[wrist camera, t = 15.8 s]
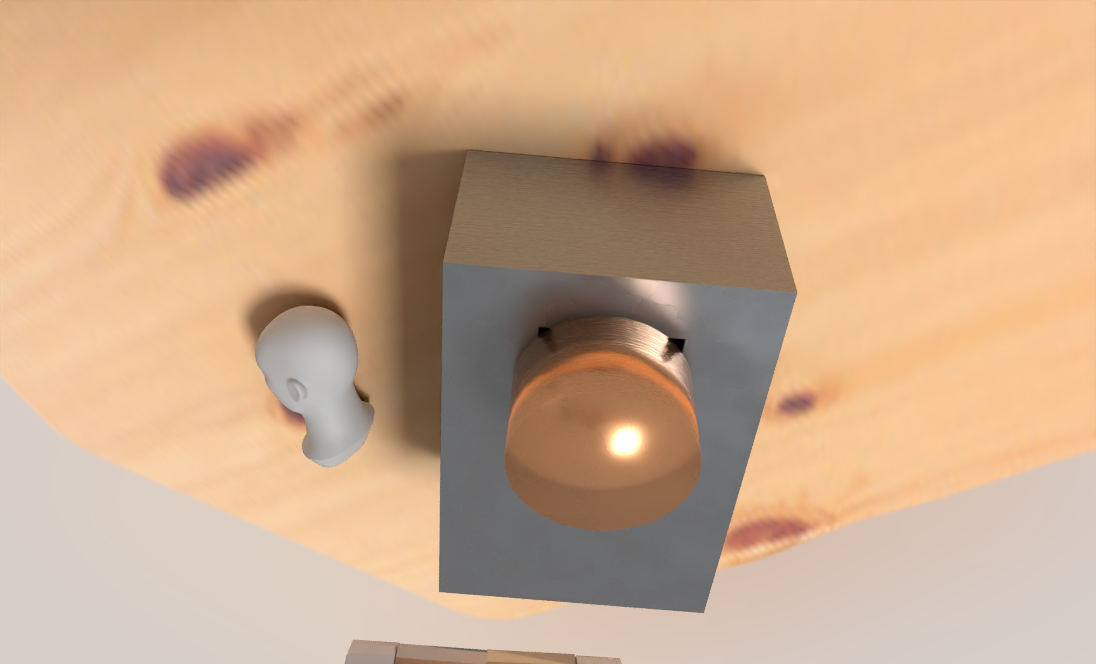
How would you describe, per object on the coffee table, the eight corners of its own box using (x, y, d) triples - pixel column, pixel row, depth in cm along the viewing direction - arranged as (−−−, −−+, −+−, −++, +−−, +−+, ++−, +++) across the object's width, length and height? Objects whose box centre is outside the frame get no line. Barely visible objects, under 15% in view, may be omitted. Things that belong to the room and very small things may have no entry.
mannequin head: (273, 276, 45) (371, 294, 43) (304, 406, 50) (394, 427, 48) (217, 329, 42) (321, 352, 40) (257, 463, 46) (351, 488, 45)
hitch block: (458, 463, 50) (439, 591, 44) (467, 149, 39) (442, 262, 33) (690, 482, 50) (703, 612, 44) (764, 175, 39) (797, 292, 33)
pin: (519, 332, 43) (500, 522, 35) (528, 204, 39) (509, 384, 31) (666, 344, 43) (684, 537, 35) (691, 218, 39) (718, 401, 31)
